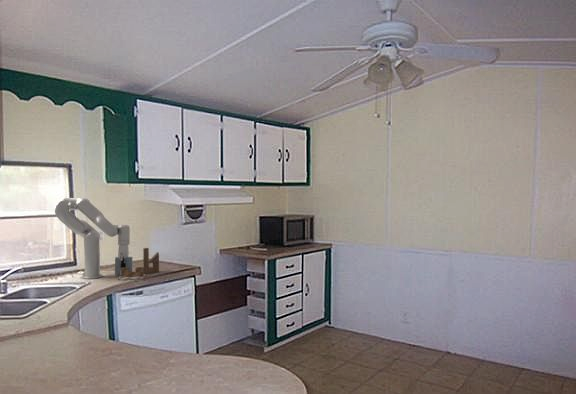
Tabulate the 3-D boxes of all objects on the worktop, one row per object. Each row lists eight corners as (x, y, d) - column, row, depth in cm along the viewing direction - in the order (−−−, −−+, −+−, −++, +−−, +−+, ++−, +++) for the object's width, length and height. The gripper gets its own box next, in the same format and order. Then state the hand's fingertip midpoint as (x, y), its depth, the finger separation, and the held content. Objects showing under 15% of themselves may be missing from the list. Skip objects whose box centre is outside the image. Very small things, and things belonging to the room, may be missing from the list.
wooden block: (159, 271, 303) (158, 247, 303) (144, 273, 297) (144, 248, 296) (157, 271, 306) (157, 246, 306) (142, 272, 300) (142, 248, 299)
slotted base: (117, 280, 277) (117, 269, 277) (122, 276, 288) (122, 266, 288) (142, 279, 279) (142, 268, 279) (146, 275, 290) (146, 265, 290)
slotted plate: (131, 274, 292) (131, 257, 292) (115, 274, 291) (115, 257, 291) (132, 273, 295) (132, 256, 295) (116, 273, 294) (116, 257, 294)
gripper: (121, 241, 300) (121, 266, 301) (114, 244, 284) (114, 270, 285) (132, 241, 301) (132, 266, 302) (126, 244, 285) (126, 270, 286)
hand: (123, 268), depth 293 cm, fingers closed on slotted plate, 3 cm apart
